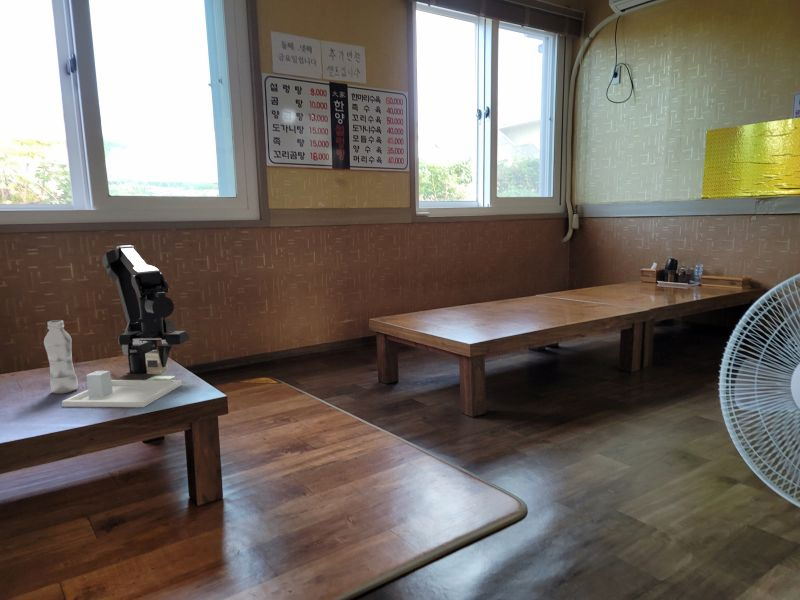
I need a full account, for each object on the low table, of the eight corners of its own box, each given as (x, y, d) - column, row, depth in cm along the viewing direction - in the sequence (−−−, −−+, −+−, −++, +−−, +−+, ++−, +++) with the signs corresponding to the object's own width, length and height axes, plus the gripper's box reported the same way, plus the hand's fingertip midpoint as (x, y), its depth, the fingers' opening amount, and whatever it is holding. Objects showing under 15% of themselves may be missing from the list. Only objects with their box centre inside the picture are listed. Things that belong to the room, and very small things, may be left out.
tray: (62, 408, 138) (61, 401, 138) (109, 386, 156) (108, 379, 156) (143, 409, 135) (142, 402, 135) (182, 386, 153) (181, 380, 153)
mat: (141, 383, 157) (141, 382, 157) (153, 377, 163) (153, 376, 163) (164, 384, 156) (164, 382, 156) (175, 377, 162) (175, 376, 162)
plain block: (88, 397, 145) (86, 375, 144) (99, 392, 149) (96, 370, 148) (102, 397, 144) (100, 375, 143) (112, 392, 148) (110, 370, 147)
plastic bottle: (67, 396, 148) (57, 323, 145) (45, 396, 149) (34, 323, 146) (84, 389, 154) (75, 318, 151) (63, 388, 155) (53, 319, 152)
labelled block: (160, 374, 156) (157, 353, 156) (147, 374, 157) (144, 353, 156) (168, 370, 161) (165, 349, 160) (155, 370, 161) (153, 350, 160)
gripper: (196, 308, 163) (201, 359, 165) (138, 309, 165) (143, 359, 168) (176, 315, 152) (181, 370, 154) (114, 316, 155) (120, 370, 157)
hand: (157, 367), depth 159 cm, fingers closed on labelled block, 4 cm apart
